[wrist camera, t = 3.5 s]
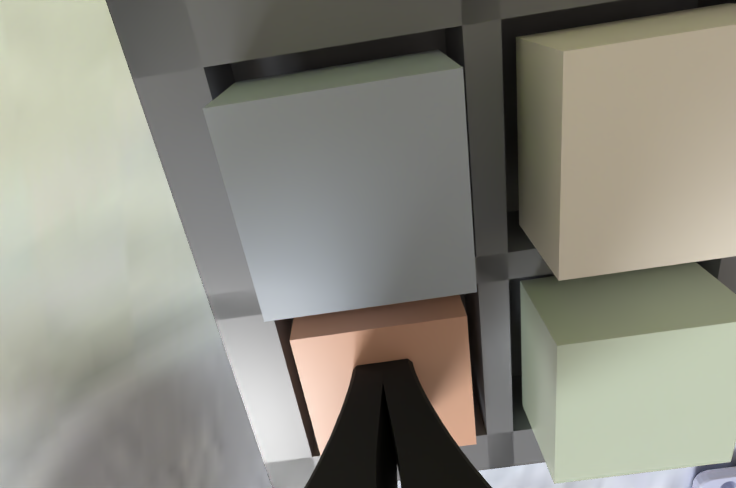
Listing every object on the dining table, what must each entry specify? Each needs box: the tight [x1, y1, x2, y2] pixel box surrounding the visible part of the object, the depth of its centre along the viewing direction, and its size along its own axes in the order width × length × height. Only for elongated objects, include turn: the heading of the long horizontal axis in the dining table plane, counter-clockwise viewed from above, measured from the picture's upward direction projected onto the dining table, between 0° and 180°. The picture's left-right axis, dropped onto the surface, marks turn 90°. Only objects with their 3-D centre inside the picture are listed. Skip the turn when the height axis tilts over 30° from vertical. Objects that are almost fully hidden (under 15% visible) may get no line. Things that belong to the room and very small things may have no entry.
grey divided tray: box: [106, 0, 736, 488], centre depth 13 cm, size 13×13×2 cm
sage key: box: [520, 262, 736, 484], centre depth 12 cm, size 4×4×2 cm
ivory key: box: [516, 3, 736, 281], centre depth 10 cm, size 4×4×2 cm
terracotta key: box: [290, 295, 476, 456], centre depth 13 cm, size 4×4×2 cm
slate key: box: [203, 50, 477, 322], centre depth 10 cm, size 4×4×2 cm
